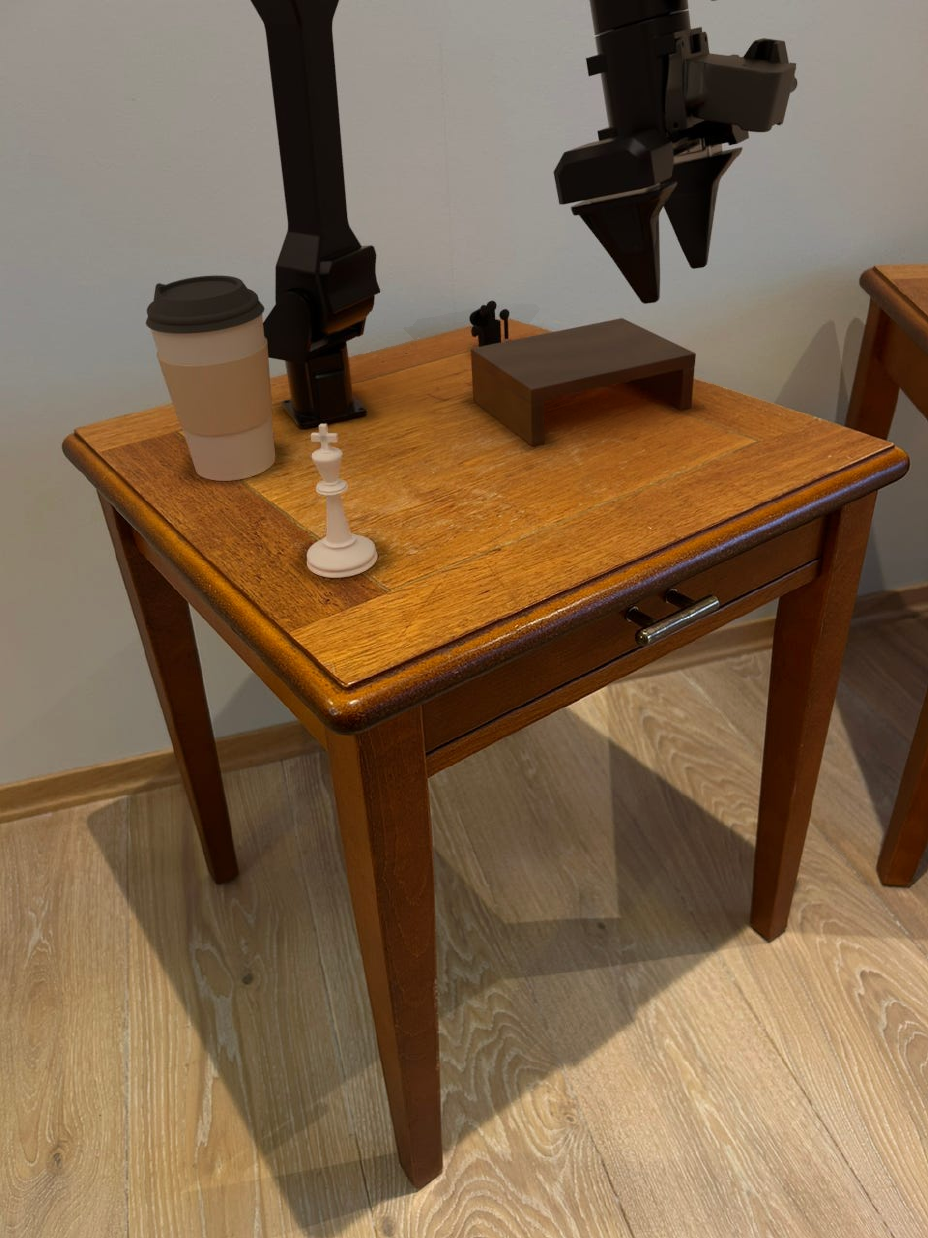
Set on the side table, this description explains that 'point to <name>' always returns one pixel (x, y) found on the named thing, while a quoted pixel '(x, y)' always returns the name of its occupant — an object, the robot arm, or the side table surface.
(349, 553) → the chess piece
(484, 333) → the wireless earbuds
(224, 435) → the coffee cup
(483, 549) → the side table surface
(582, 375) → the shelf
